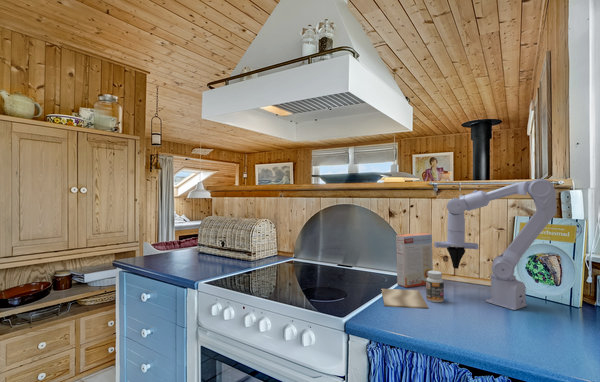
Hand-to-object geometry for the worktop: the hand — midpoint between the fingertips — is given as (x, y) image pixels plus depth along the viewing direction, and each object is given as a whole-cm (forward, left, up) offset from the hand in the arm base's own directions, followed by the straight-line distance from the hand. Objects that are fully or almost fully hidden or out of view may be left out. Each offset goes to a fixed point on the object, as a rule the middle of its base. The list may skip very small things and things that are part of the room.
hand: (455, 267), depth 116 cm
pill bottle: (+1, +10, -11) cm, 15 cm away
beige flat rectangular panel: (+8, +18, -10) cm, 23 cm away
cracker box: (+18, +1, -11) cm, 21 cm away
